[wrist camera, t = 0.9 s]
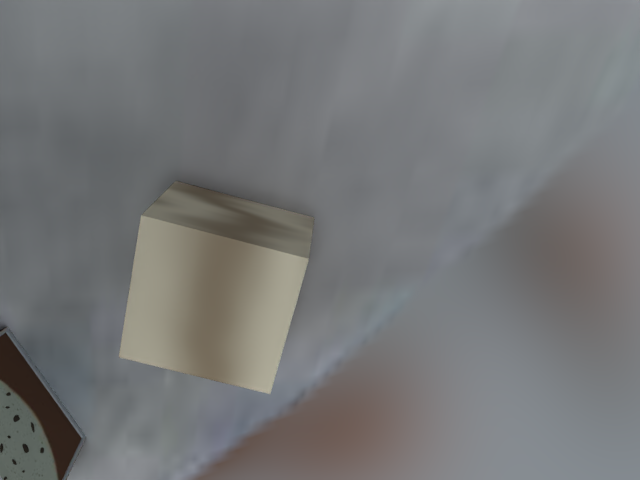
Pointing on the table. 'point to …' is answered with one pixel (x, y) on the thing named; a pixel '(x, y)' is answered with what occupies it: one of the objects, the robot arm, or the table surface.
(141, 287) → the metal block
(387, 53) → the table surface
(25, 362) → the food container
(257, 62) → the table surface
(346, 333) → the table surface
